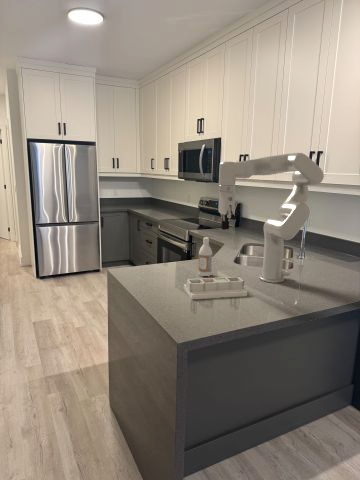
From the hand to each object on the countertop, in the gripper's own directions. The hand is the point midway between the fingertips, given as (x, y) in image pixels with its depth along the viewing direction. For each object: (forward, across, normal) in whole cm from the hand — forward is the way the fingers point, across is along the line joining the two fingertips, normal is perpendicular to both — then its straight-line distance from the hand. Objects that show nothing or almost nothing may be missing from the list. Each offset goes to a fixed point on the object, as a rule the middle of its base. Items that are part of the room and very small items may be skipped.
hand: (224, 229), depth 152 cm
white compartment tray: (+27, -10, +7) cm, 30 cm away
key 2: (+24, -9, +4) cm, 26 cm away
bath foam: (+27, +16, +4) cm, 32 cm away
